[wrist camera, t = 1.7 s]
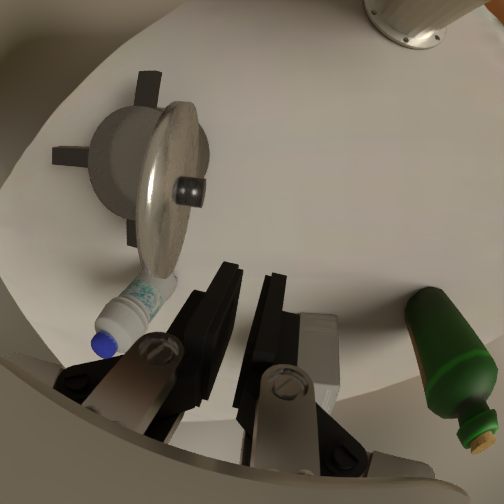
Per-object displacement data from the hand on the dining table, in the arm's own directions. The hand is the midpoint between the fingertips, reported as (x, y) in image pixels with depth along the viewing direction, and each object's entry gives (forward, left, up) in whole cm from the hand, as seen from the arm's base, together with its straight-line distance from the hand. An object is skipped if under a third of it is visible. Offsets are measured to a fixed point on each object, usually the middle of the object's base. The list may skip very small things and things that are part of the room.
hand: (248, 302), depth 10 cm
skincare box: (+24, +10, -29) cm, 39 cm away
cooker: (0, -22, -29) cm, 36 cm away
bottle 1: (+20, -17, -29) cm, 39 cm away
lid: (0, -9, -12) cm, 15 cm away
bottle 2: (+15, +28, -29) cm, 43 cm away
